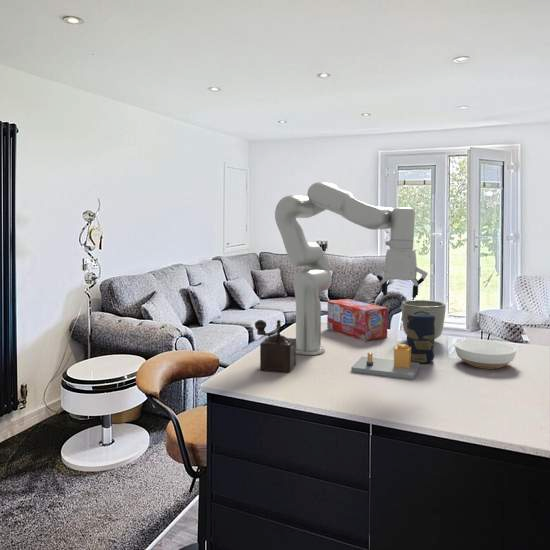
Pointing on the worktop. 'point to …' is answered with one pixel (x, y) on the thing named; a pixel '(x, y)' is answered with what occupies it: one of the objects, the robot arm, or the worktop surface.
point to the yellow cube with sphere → (402, 356)
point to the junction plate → (385, 368)
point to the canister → (421, 336)
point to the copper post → (369, 360)
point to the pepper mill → (276, 350)
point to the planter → (427, 306)
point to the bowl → (485, 353)
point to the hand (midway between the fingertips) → (399, 296)
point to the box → (357, 319)
